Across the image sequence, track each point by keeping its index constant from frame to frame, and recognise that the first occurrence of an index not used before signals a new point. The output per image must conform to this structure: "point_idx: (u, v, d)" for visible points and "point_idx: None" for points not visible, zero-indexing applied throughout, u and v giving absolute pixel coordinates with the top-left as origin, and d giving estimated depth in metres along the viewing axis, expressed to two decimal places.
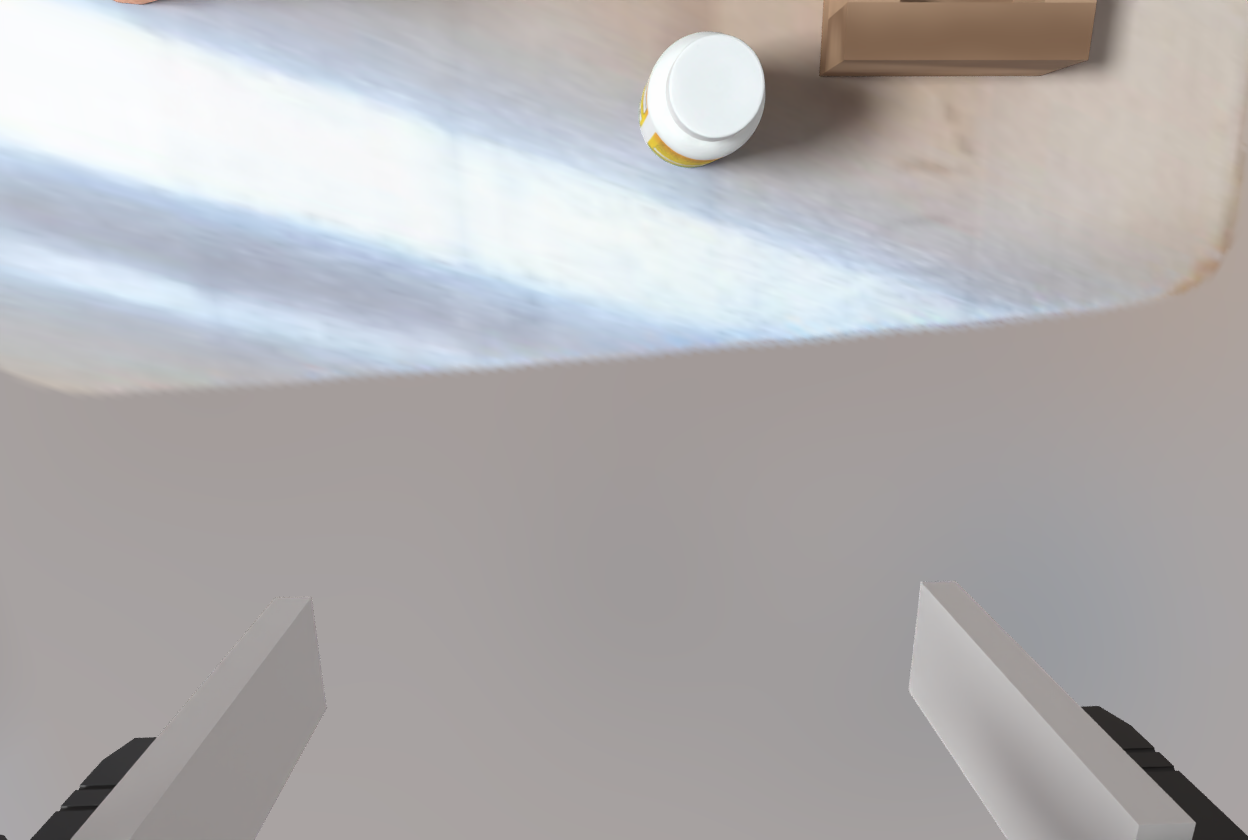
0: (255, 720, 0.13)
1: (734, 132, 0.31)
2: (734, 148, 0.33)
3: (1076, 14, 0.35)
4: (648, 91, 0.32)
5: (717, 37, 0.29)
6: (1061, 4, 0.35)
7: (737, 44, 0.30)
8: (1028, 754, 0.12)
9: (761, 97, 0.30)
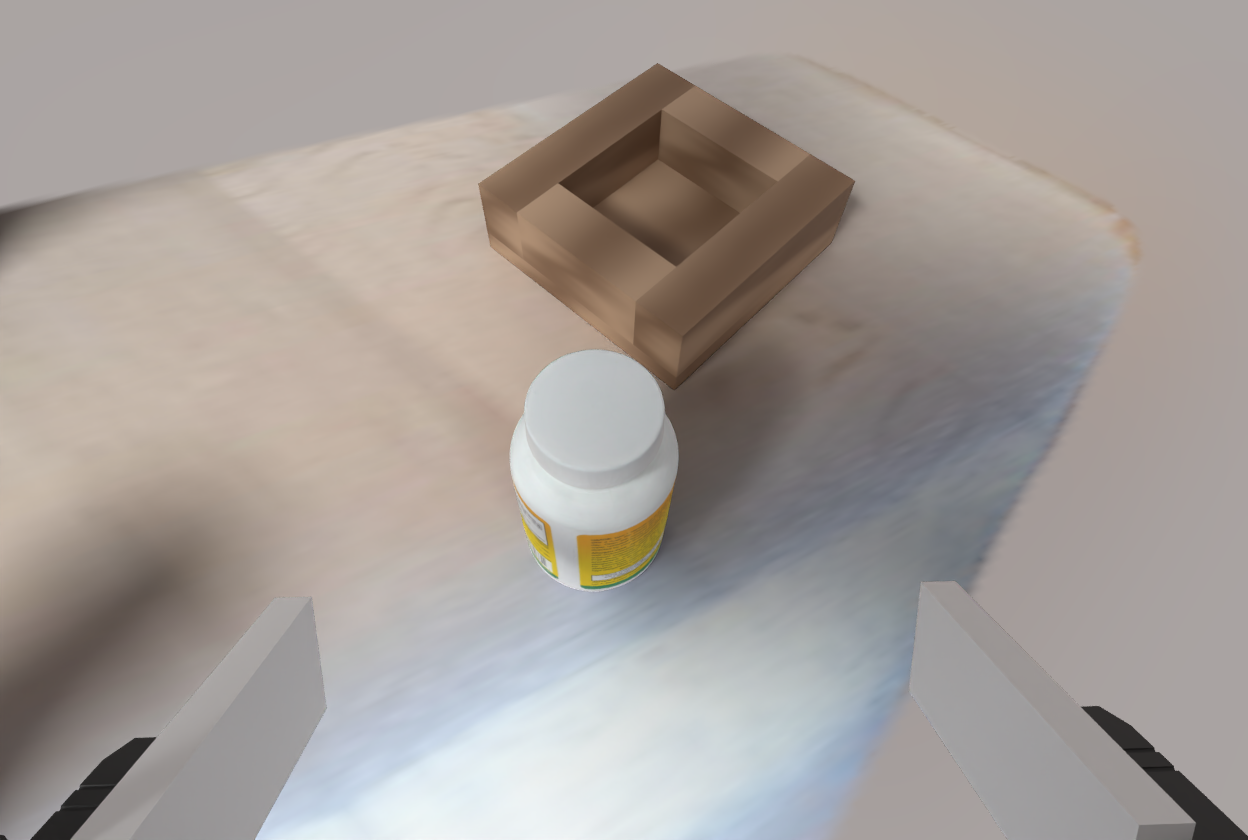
0: (255, 720, 0.13)
1: (659, 427, 0.20)
2: (674, 465, 0.22)
3: (807, 169, 0.33)
4: (528, 502, 0.22)
5: (548, 369, 0.21)
6: (789, 173, 0.33)
7: (574, 357, 0.21)
8: (1028, 754, 0.12)
9: (649, 375, 0.21)
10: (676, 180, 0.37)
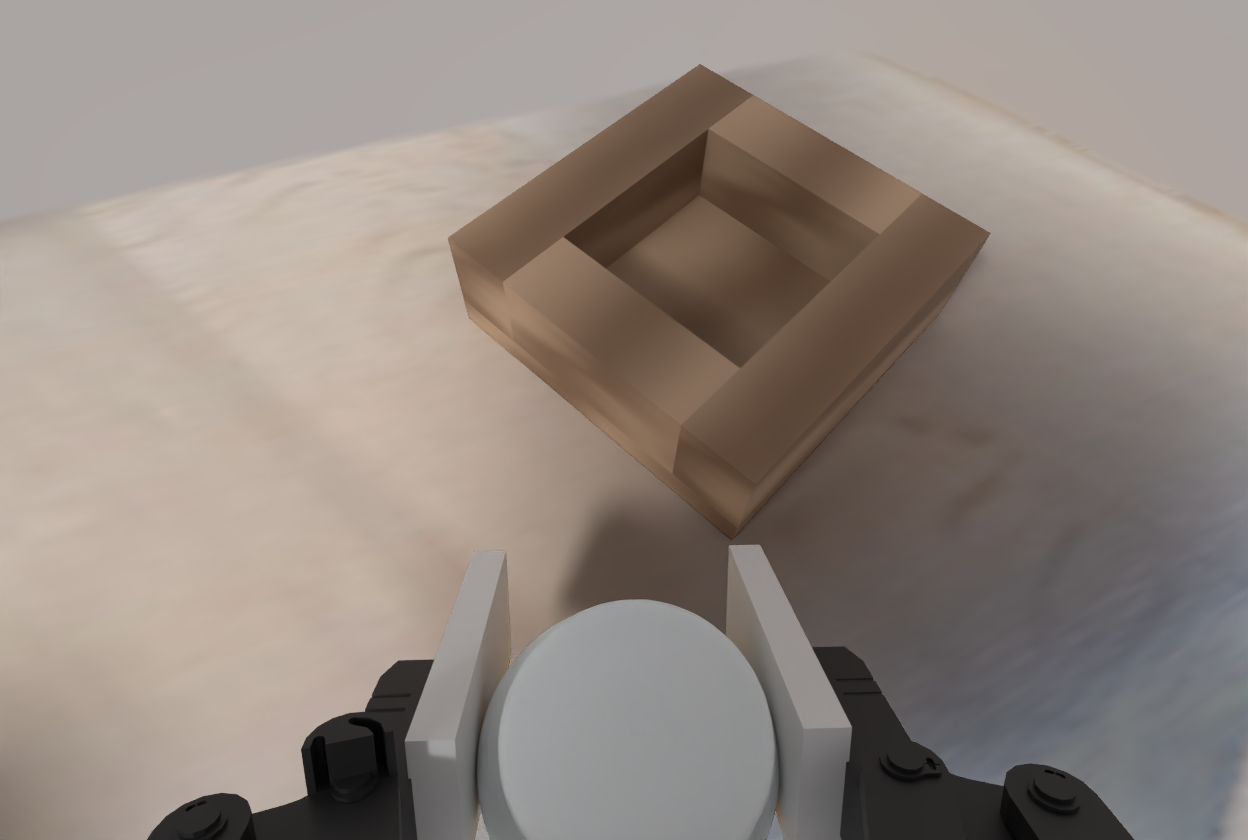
0: (491, 648, 0.15)
1: (768, 786, 0.10)
2: (775, 790, 0.12)
3: (920, 216, 0.23)
4: None
5: (546, 647, 0.11)
6: (895, 222, 0.23)
7: (596, 619, 0.11)
8: (767, 684, 0.14)
9: (741, 659, 0.11)
10: (725, 225, 0.27)
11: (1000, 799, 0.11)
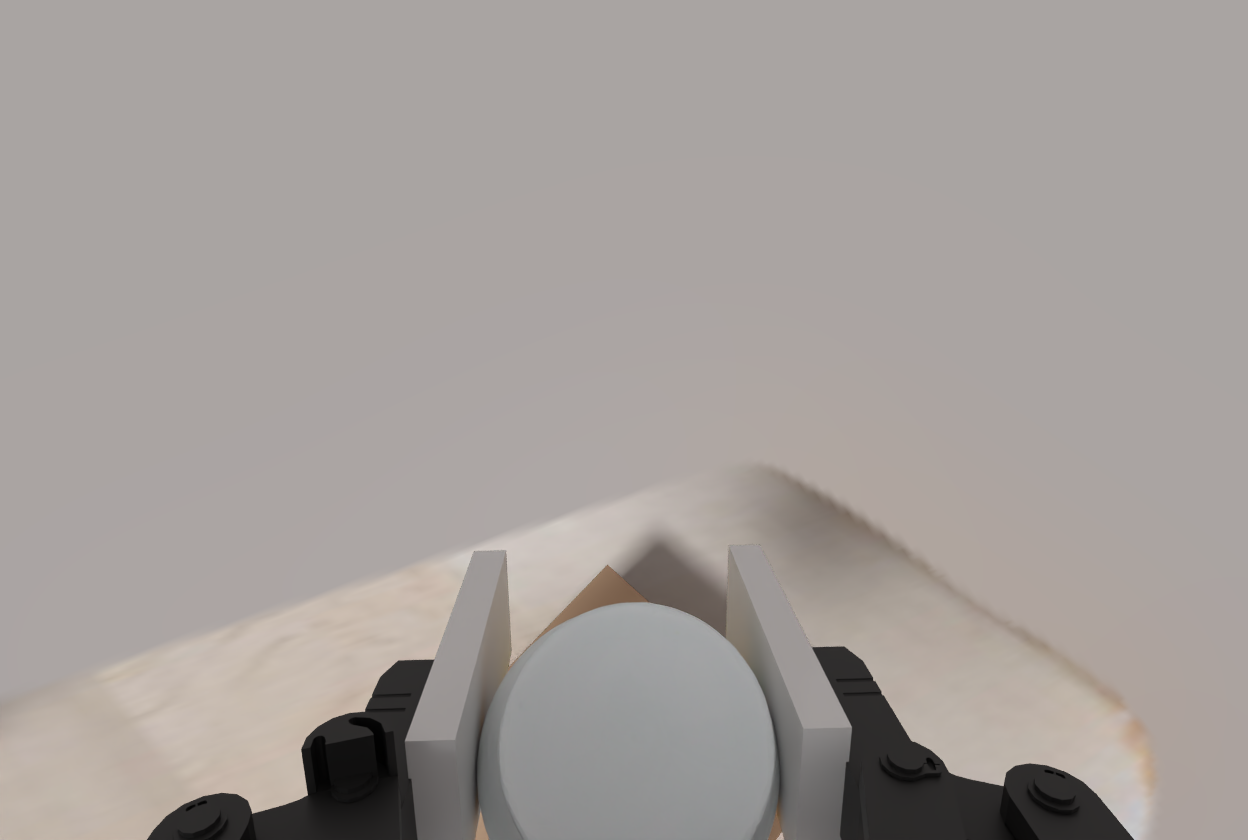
0: (491, 648, 0.15)
1: (768, 790, 0.10)
2: (776, 793, 0.12)
3: None
4: None
5: (546, 650, 0.11)
6: None
7: (596, 622, 0.11)
8: (767, 684, 0.14)
9: (741, 662, 0.11)
10: None
11: (1000, 799, 0.11)
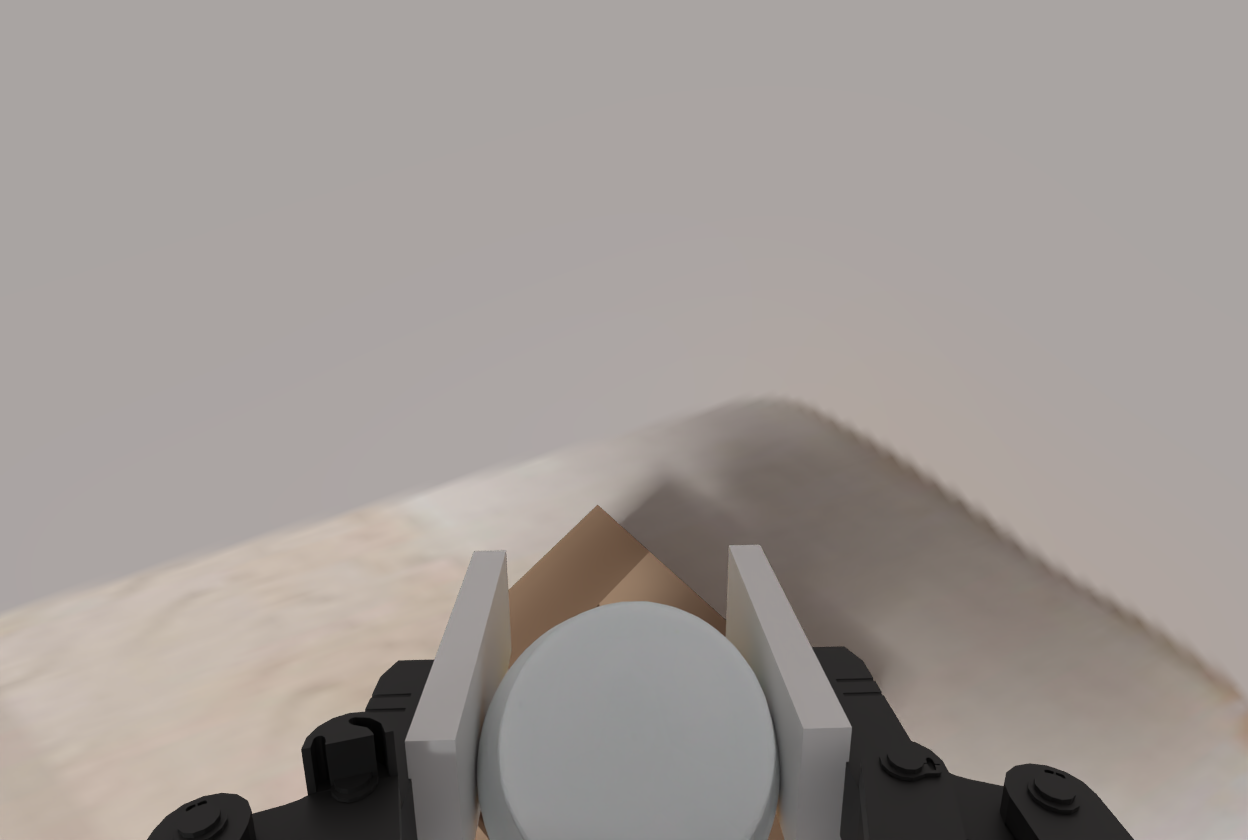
0: (491, 648, 0.15)
1: (768, 788, 0.10)
2: (776, 792, 0.12)
3: None
4: None
5: (546, 649, 0.11)
6: None
7: (596, 621, 0.11)
8: (767, 684, 0.14)
9: (742, 661, 0.11)
10: None
11: (1000, 799, 0.11)
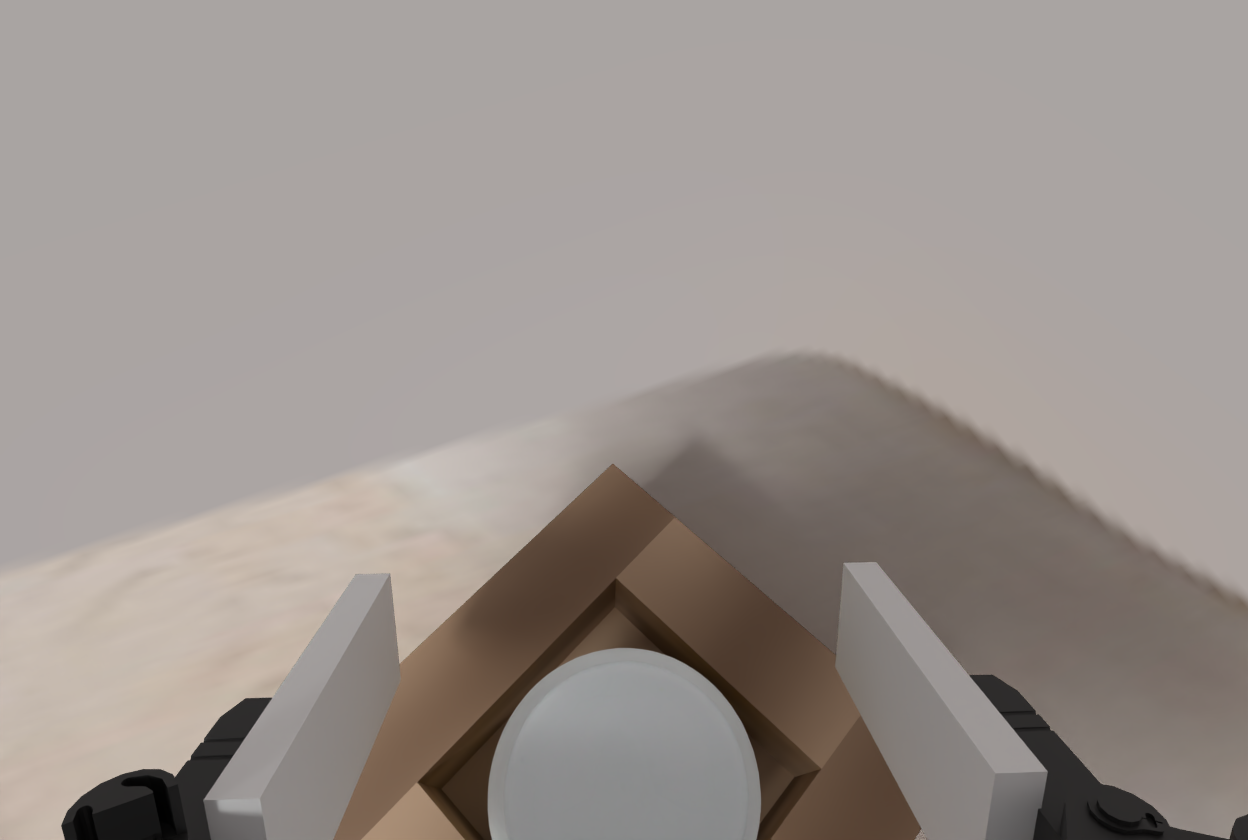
0: (352, 683, 0.14)
1: (742, 832, 0.11)
2: (756, 821, 0.14)
3: None
4: None
5: (544, 708, 0.12)
6: (842, 745, 0.18)
7: (589, 680, 0.12)
8: (919, 717, 0.13)
9: (719, 716, 0.12)
10: None
11: None
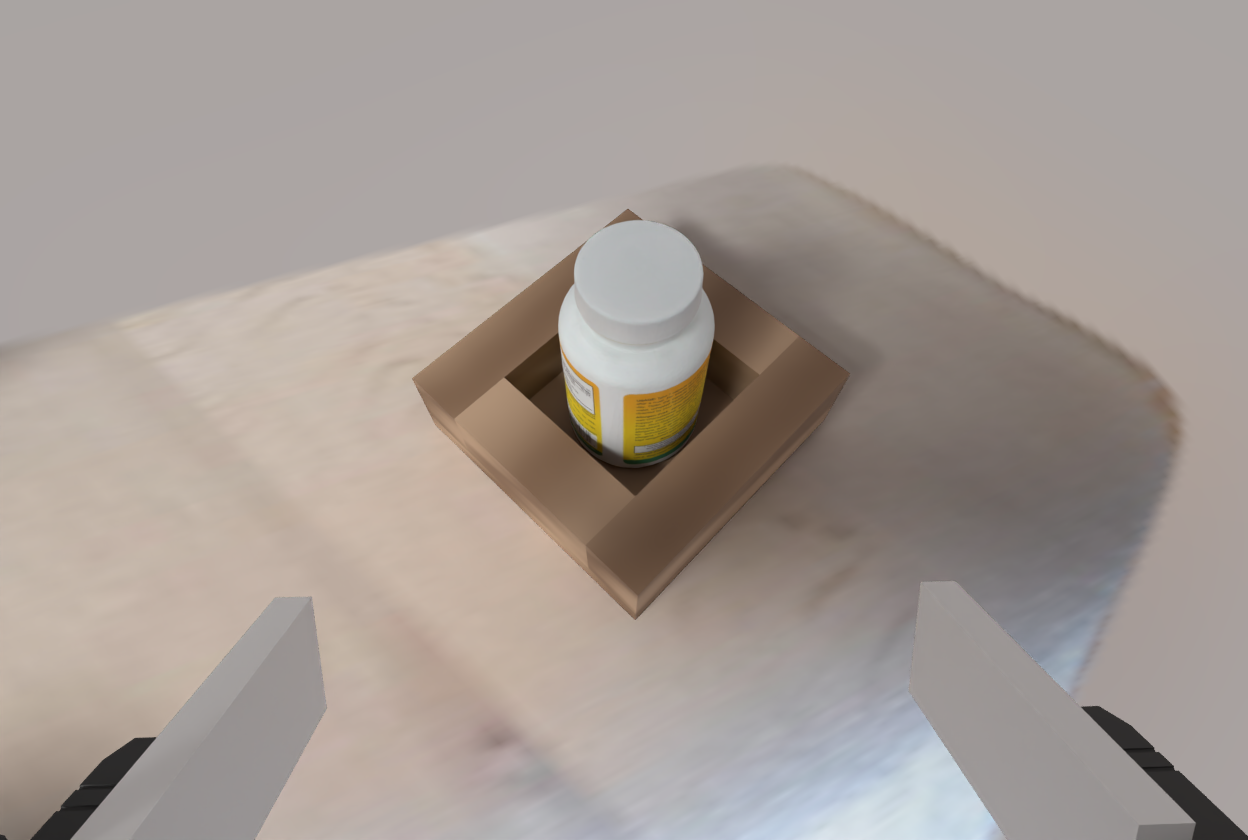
0: (255, 720, 0.13)
1: (699, 285, 0.22)
2: (711, 329, 0.24)
3: (795, 357, 0.29)
4: (578, 366, 0.24)
5: (594, 239, 0.23)
6: (774, 363, 0.29)
7: (617, 228, 0.23)
8: (1028, 754, 0.12)
9: (687, 240, 0.23)
10: None
11: None
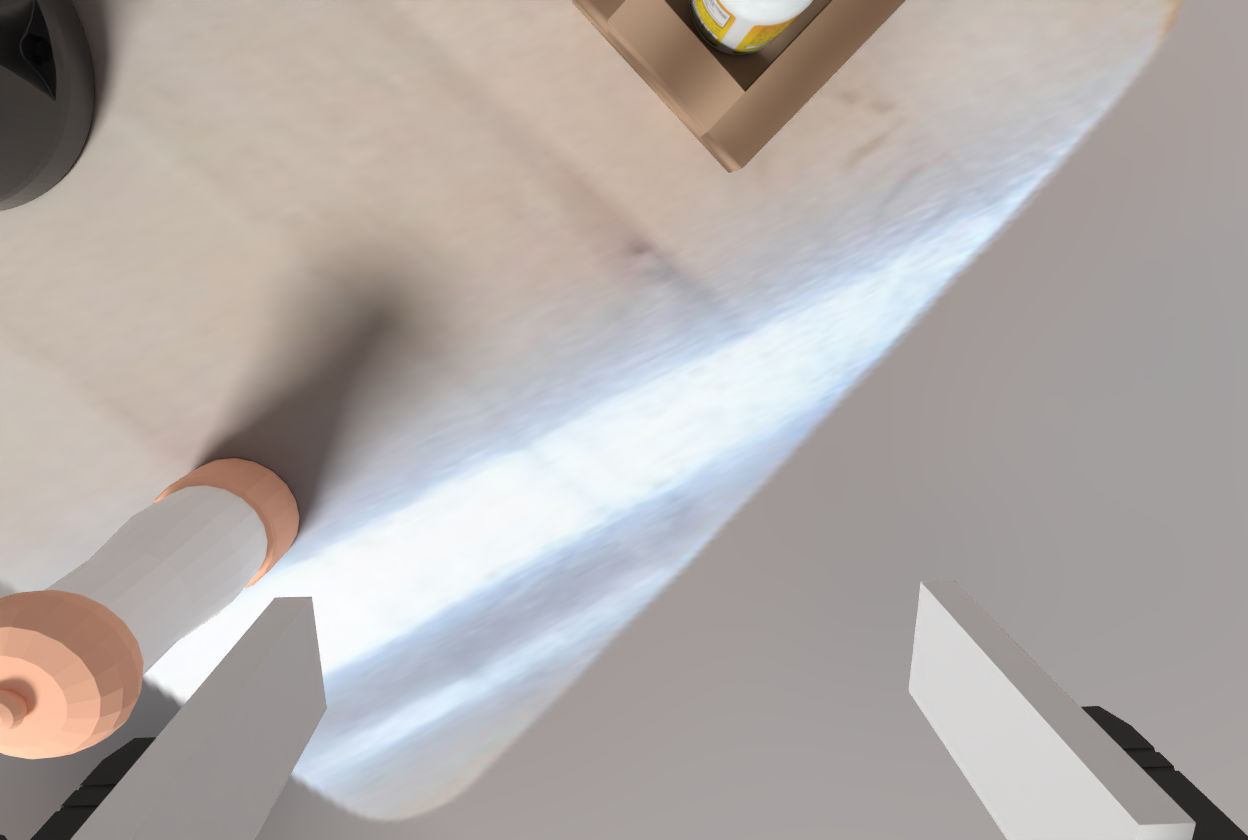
0: (255, 720, 0.13)
1: None
2: None
3: None
4: (723, 1, 0.31)
5: None
6: None
7: None
8: (1028, 754, 0.12)
9: None
10: None
11: None
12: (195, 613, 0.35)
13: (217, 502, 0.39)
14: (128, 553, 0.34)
